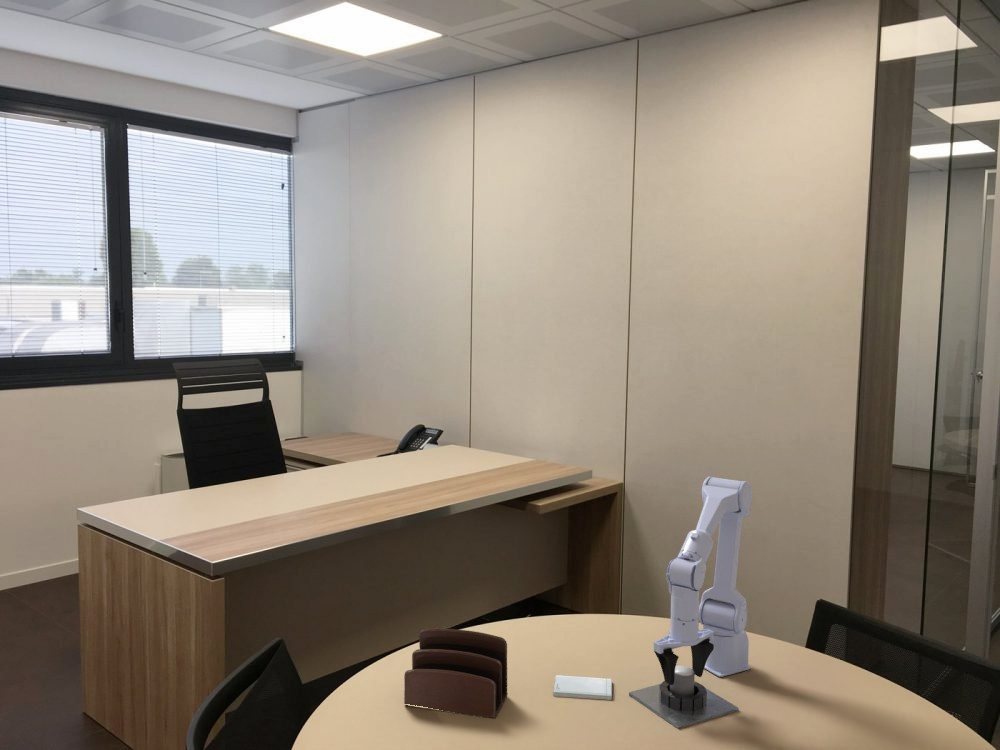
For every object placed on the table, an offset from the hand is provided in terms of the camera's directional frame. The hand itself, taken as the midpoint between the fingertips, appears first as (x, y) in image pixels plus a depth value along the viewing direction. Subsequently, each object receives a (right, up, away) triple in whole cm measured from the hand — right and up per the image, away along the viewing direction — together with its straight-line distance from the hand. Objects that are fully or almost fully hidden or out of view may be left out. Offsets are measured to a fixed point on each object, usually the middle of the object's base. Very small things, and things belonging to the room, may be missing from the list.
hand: (683, 678), depth 174 cm
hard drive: (-20, -5, +7) cm, 22 cm away
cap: (0, -5, +1) cm, 5 cm away
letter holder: (-48, -5, +1) cm, 48 cm away
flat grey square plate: (0, -5, 0) cm, 5 cm away
